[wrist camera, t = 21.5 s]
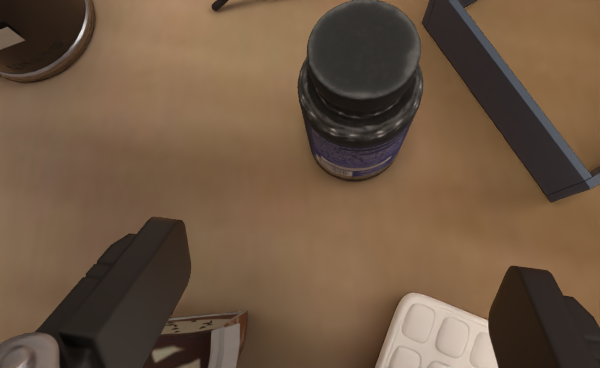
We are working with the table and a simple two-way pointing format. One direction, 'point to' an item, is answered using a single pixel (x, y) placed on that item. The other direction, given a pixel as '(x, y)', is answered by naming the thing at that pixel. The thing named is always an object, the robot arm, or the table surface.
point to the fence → (507, 101)
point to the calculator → (435, 337)
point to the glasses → (218, 4)
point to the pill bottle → (360, 87)
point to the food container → (200, 342)
